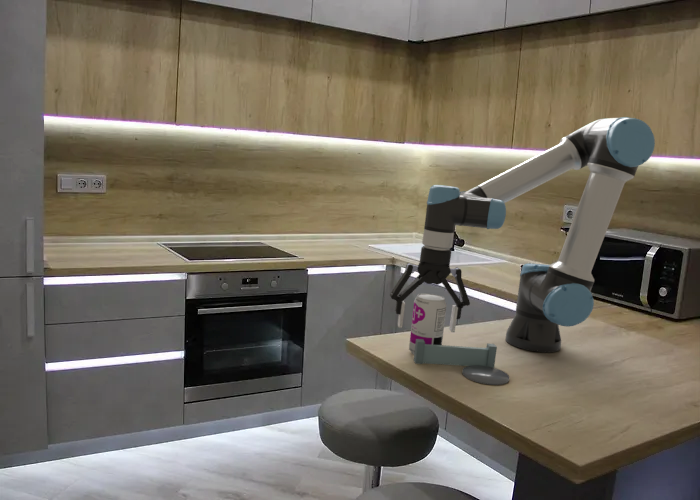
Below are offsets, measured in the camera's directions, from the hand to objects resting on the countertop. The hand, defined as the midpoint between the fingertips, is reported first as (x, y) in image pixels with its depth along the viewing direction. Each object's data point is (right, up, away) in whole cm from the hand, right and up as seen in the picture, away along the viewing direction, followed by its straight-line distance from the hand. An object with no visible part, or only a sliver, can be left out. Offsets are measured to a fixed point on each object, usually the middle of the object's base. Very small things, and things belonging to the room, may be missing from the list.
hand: (425, 328), depth 164 cm
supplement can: (0, -7, +1) cm, 7 cm away
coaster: (+13, -10, -11) cm, 20 cm away
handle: (+6, -8, -5) cm, 11 cm away
